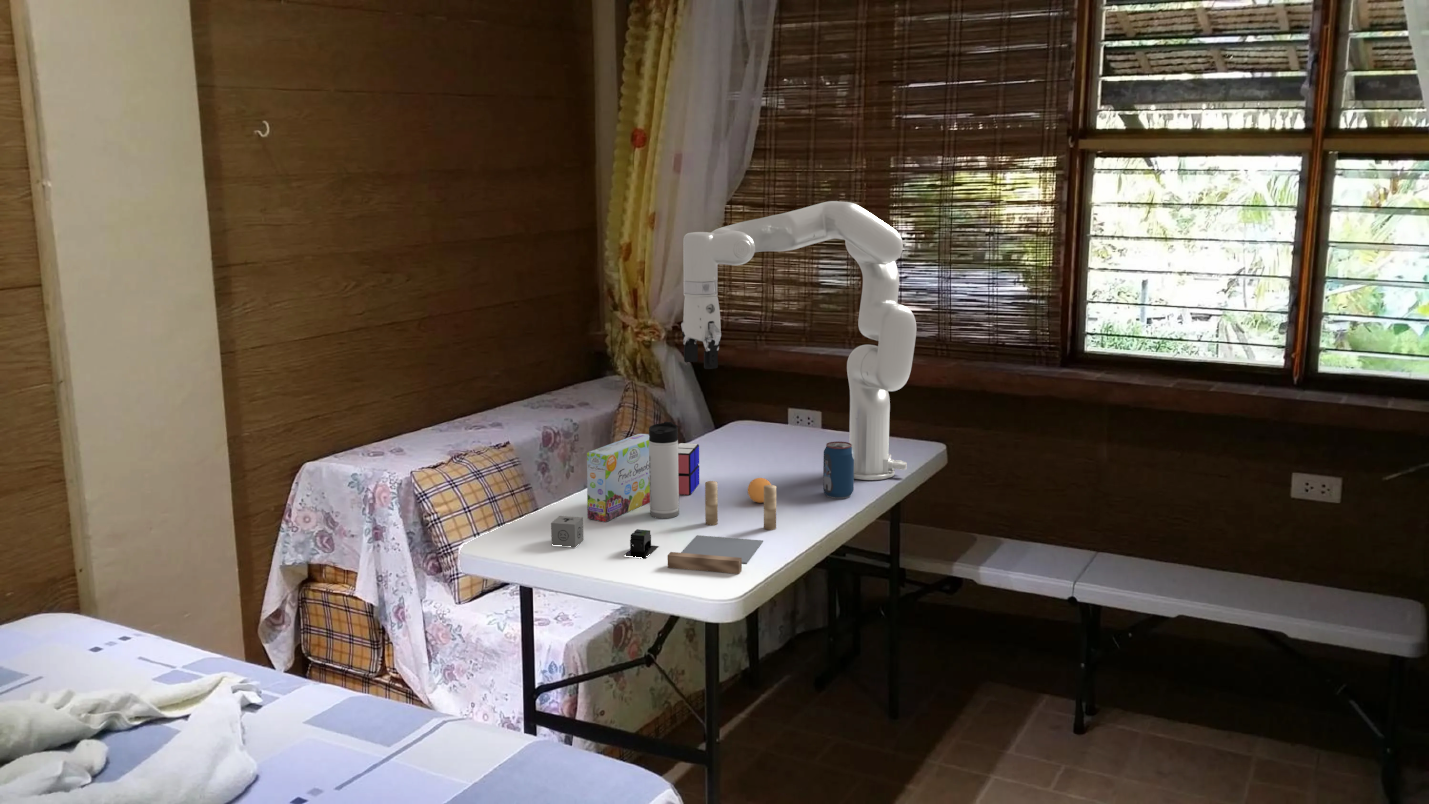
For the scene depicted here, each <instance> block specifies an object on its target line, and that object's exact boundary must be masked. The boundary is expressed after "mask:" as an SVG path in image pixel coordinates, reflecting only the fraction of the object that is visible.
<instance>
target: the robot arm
mask: <svg viewBox="0 0 1429 804" xmlns="http://www.w3.org/2000/svg"><path fill="white" fill-rule="evenodd" d="M835 239H837V240H844V241H845V242H844V243H845V248H846V250H847V252H848V254H849V255H850V256H851V258H853V259H854V260H855V261H856V262H857V264H858V266H859V268H860V271H861V275H862V290H861V297H860V305H859V314H858V319H857V320H858V322H857V323H858V330H859V332H860V333H861V335H862V336H864V338H868V339H870V340H874V341H876V342H878V344H877V345H875V344H862V345H859V346H856V347H855V348H854V349H853V350H852V351H851V352H850V354H849V356H848V358H847V361H846V372H847V374H846V375H847V379H848V386H849V437H848V438H849V442H848V443H851V444H852V446H851V447H852V449H853V451H854V480H860V481H862V480H863V481H877V480H878V481H879V480H886V479H890V478H892V477H894V476H895V473H896V472H895V470H901V471H906V470H907V466H908V465H907V464H908V463H907V461H904V460H901V459H897V460H894V458H892V453H889V452H890V451H889V450H890V449H889V448H890V447H889V446H890V445H889V443H890V412H891V403H890V401H891V400H890V399H891V398H890V394H889V392H896V391H898V390H900V389H902V388H903V387H904V386H905V385H906V384H907V382H908V380H909V378H910V375H911V371H912V367H913V359H914V353H915V347H916V346H915V345H916V338H917V322H916V317H915V315H914V313H913V312H912V310H911V309H910V308H908V307H907V306H905V305H903V304H900V303H898V302H899V301H898V300H899V289H900V287H899V286H900V273H899V268H898V266H897V263H896V261H897V260H899V258H900V257H901V255H902V253H903V250H904V249H903V248H904V243H903V239H902V237H901V235H900V233H899V232H898V231H897V230H896V229H895V228H894V227H892V226H890V224H888V223H886V222H884V220H882V219H880V218H878V217H877V216H876V215H874V214H873V213H872V212H871V211H870V212H869V211H868V210H867V209H865V208H863V207H862V206H860V205H858V204H857V203H853V202H850V201H840V200H839V201H837V200H828V201H825V202H821V203H817V204H813V205H810V206H809V205H808V206H806V207H805V206H804V207H803V208H798V209H795V210H794V209H793V210H791V211H788V212H787V211H786V212H783V213H779V214H772V215H769V216H765V217H760V218H755V219H750V220H745V221H741V222H737V223H733V224H730V225H729V224H728V225H725V226H722V227H719V228H716V229H714V230H712V231H711V232H707V231H695V232H688V233H686V234H685V235H683V241H682V244H683V245H682V246H683V251H682V252H683V254H682V255H683V256H682V257H683V259H682V260H683V265H682V266H683V296H684V301H683V315H682V317H683V319H682V322H681V324H680V326H681V327H680V328H681V331H682V337H683V340H682V343H683V346H684V347H683V362H685V363H694V362H695V363H696V362H698V361H699V360H698V359H699V358H698V357H699V356H698V355H699V350H698V349H699V345H698V343H697V341H698V342H702V343H703V347H704V349H705V350H703V369H704V370H713V369H714V370H715V369H718V367H719V349H720V344H721V337H722V331H721V328H722V326H721V323H722V322H721V311H720V304H719V303H720V302H719V298H718V293H719V292H718V274H719V273H718V265H727V266H728V265H729V266H742V265H745V264H747V263H748V262H750V261H751V259H753V257H754V255H755V253H759V252H760V253H761V252H762V253H763V252H786V251H793V250H797V249H800V248H805V247H807V246H811V245H814V244H815V245H816V244H817V243H822V242H825V241H830V240H835Z"/></svg>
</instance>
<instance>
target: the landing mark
mask: <svg viewBox="0 0 1429 804" xmlns="http://www.w3.org/2000/svg"><path fill="white" fill-rule="evenodd" d="M763 542H764V540H761V539H751V538H750V539H749V538H737V537H727V536H726V537H724V536H712V535H711V536H710V535H700V534H697V535H695V537H694V538H693V539H692V540H691V541H690V542H689V543H688V544H687V545H686V546H685V547H684V549H682V550H681V552H680V553H690V554H702V555H714V556H725V557H737V558H742V564H748V563H749V561H750V560H751V559H752V557H753V556H754V555H755V553H756V552H757V550H758V549H760V546H761V545H762V544H763Z"/></svg>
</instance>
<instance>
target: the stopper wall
mask: <svg viewBox="0 0 1429 804" xmlns="http://www.w3.org/2000/svg"><path fill="white" fill-rule="evenodd" d="M742 564H743V563H742V558H737V557H725V556H714V555H702V554H690V553H681V552H676V551H675V552H674V551H670V552H669V553H668V554H667V569H678V570H690V571H701V572H713V573H723V574H724V573H726V574H737V575H740V574H741V572H742V571H743V569H742Z"/></svg>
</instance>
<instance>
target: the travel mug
mask: <svg viewBox="0 0 1429 804" xmlns="http://www.w3.org/2000/svg"><path fill="white" fill-rule="evenodd" d="M678 430H679V429H678V425H677V424H675V423H673V421H664V422H661V423H659V422H658V423H655V424H653V425H651V426H649V427H648V435H649V436H650V437H649V475H650V503H649V507H650V508H649V514H650V516H651V517H653V518H655V517H656V518H657V519H671V518H675V517H678V515H679V514H680V508H679V507H680V500H679V499H680V498H679V497H680V495H679V477H678V444H679V439H678V438H679V437H678V435H679V433H678V432H679V431H678Z"/></svg>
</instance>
